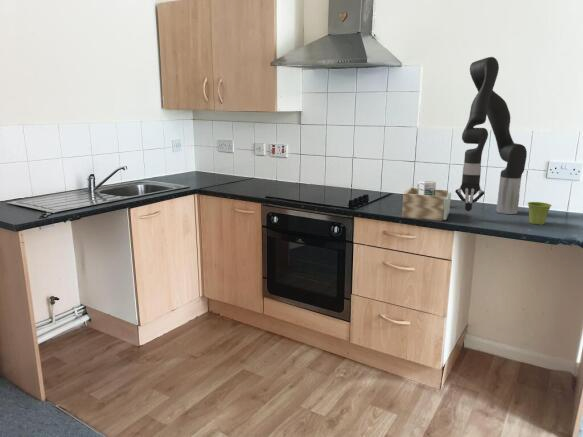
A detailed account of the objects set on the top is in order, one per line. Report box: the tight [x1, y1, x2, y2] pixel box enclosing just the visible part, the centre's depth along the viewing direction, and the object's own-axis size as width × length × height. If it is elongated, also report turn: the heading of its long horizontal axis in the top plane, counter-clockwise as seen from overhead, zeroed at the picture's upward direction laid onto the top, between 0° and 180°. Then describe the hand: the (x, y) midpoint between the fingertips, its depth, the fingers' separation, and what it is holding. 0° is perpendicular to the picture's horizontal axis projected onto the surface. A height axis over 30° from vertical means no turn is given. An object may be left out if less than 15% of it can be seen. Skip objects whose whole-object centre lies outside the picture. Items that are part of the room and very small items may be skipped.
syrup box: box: [418, 180, 437, 196], centre depth 222 cm, size 6×6×14 cm
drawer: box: [443, 192, 452, 221], centre depth 223 cm, size 18×18×9 cm
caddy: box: [401, 187, 449, 222], centre depth 223 cm, size 18×18×11 cm
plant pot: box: [527, 201, 552, 226], centre depth 210 cm, size 9×9×9 cm
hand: (468, 210), depth 217 cm, fingers closed
